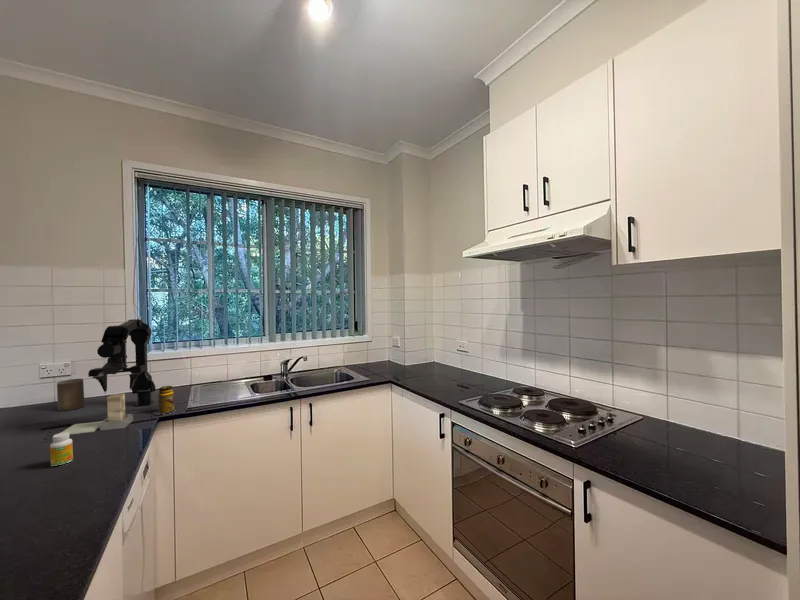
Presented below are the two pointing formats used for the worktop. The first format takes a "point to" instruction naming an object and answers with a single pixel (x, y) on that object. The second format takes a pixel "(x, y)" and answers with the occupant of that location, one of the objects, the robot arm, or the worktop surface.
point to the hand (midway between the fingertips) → (118, 390)
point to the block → (116, 407)
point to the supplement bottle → (61, 449)
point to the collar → (116, 423)
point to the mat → (83, 428)
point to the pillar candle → (70, 394)
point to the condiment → (166, 399)
